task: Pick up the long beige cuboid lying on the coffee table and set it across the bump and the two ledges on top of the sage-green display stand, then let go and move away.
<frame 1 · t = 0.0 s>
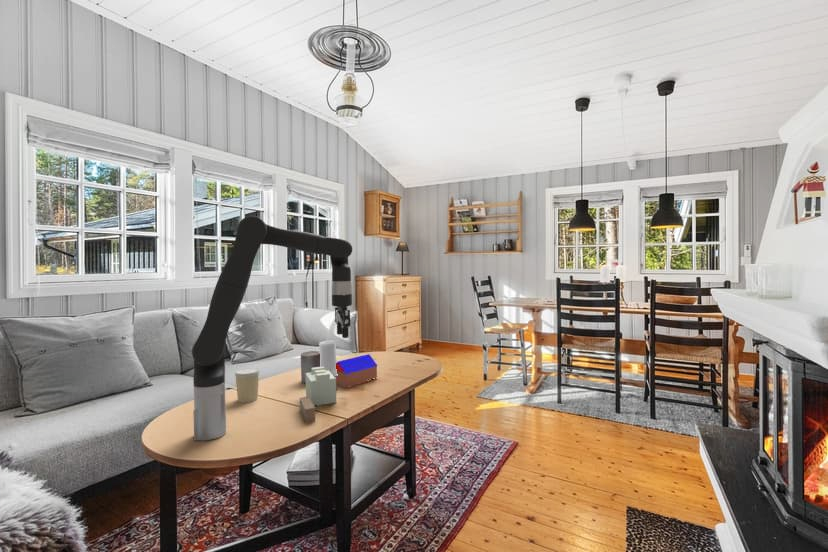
hand: (342, 336, 149), 29 cm above the table, tool pointing down, fingers open, 8 cm apart
stand: (320, 399, 165), on the table
coffee cup: (247, 399, 167), on the table
pillar candle: (311, 381, 193), on the table
house: (354, 381, 192), on the table
long beige cuboid: (307, 415, 147), on the table
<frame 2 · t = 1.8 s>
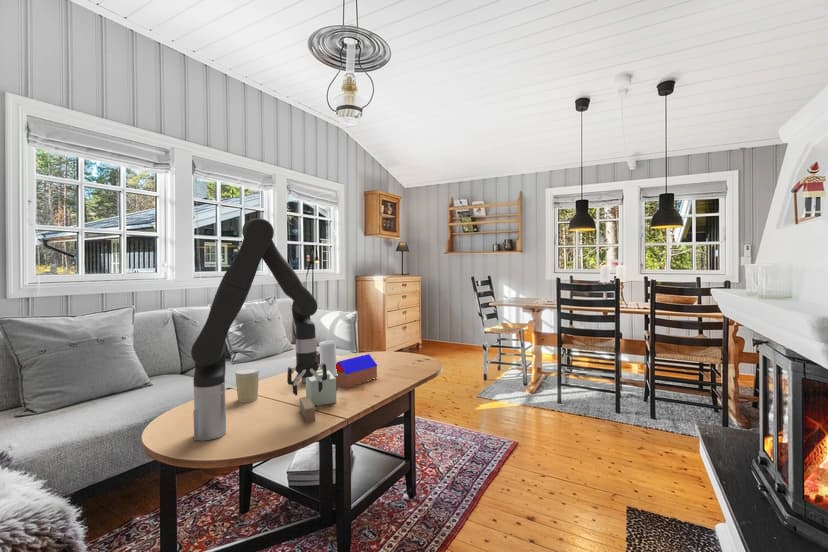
hand: (308, 393, 147), 8 cm above the table, tool pointing down, fingers open, 8 cm apart
nothing on the table moved.
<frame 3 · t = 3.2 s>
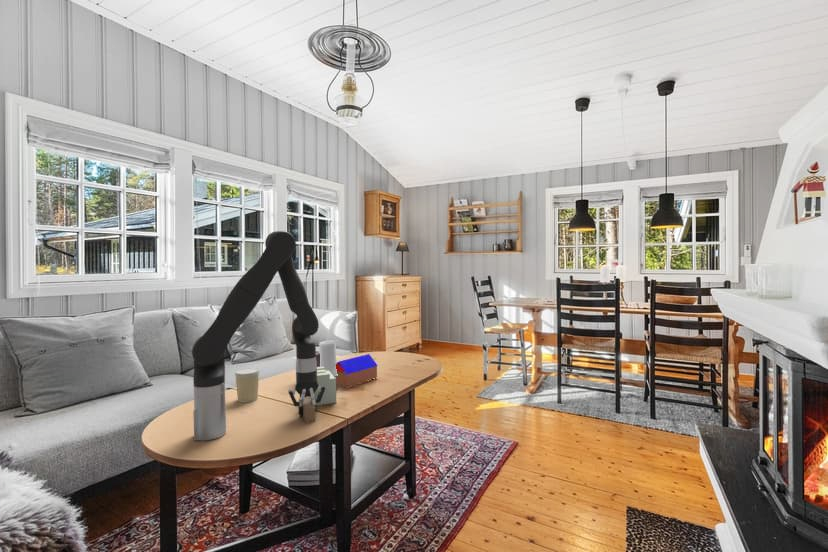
hand: (307, 414, 147), 0 cm above the table, tool pointing down, fingers closed on long beige cuboid, 3 cm apart
long beige cuboid: (307, 415, 147), on the table, touching gripper
everything else where it was.
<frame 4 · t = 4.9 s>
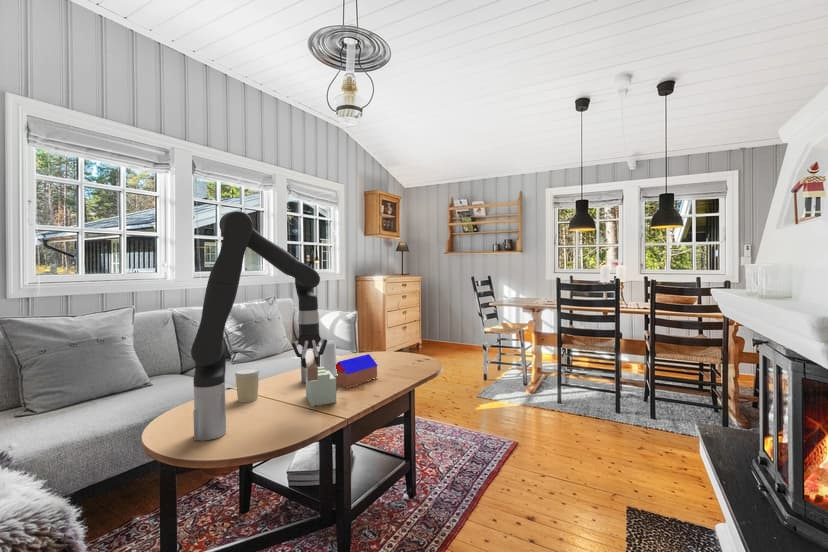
hand: (310, 366, 150), 18 cm above the table, tool pointing down, fingers closed on long beige cuboid, 3 cm apart
long beige cuboid: (309, 371, 150), point 16 cm above the table, tilted 16°, touching gripper
everything else where it was.
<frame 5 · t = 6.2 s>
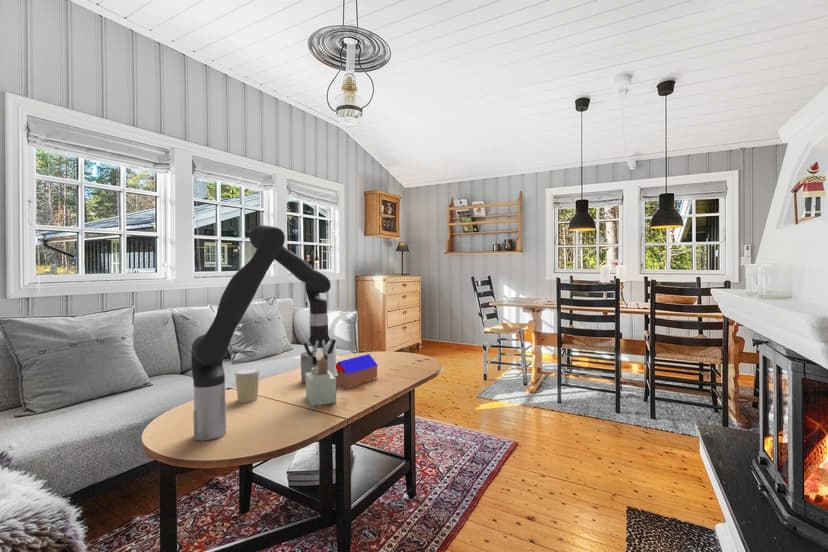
hand: (320, 364, 166), 15 cm above the table, tool pointing down, fingers closed on long beige cuboid, 3 cm apart
long beige cuboid: (320, 367, 166), point 13 cm above the table, tilted 9°, touching gripper, stand
everything else where it was.
when the fingers open (13 cm above the table, at t = 6.7 s): long beige cuboid stays where it is, resting on stand.
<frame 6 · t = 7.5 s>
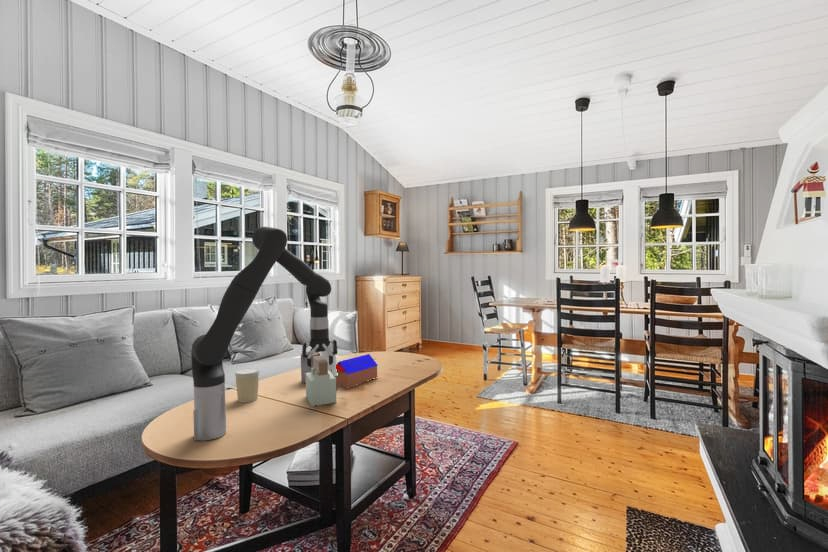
hand: (320, 365, 165), 14 cm above the table, tool pointing down, fingers open, 8 cm apart
long beige cuboid: (320, 371, 165), point 12 cm above the table, touching stand
everything else where it was.
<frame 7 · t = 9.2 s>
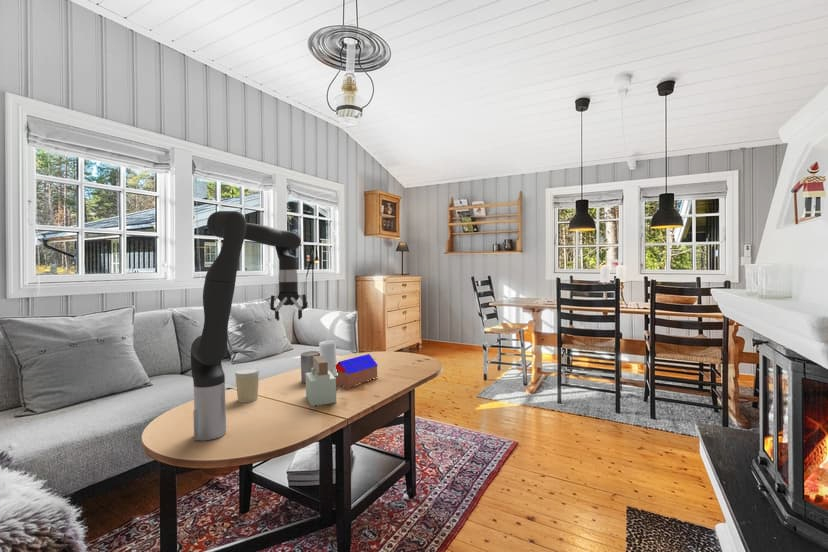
hand: (288, 319, 163), 34 cm above the table, tool pointing down, fingers open, 8 cm apart
nothing on the table moved.
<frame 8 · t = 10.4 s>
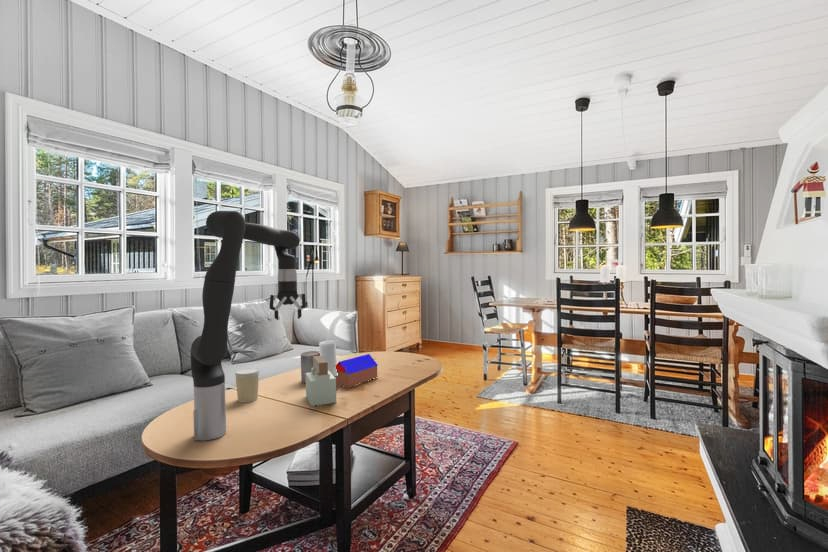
hand: (288, 319, 163), 34 cm above the table, tool pointing down, fingers open, 8 cm apart
nothing on the table moved.
at the end: long beige cuboid inside the target area on the stand (0.3 cm from its centre), point 12.0 cm above the stand's base; long beige cuboid touching stand; the gripper is holding nothing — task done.
